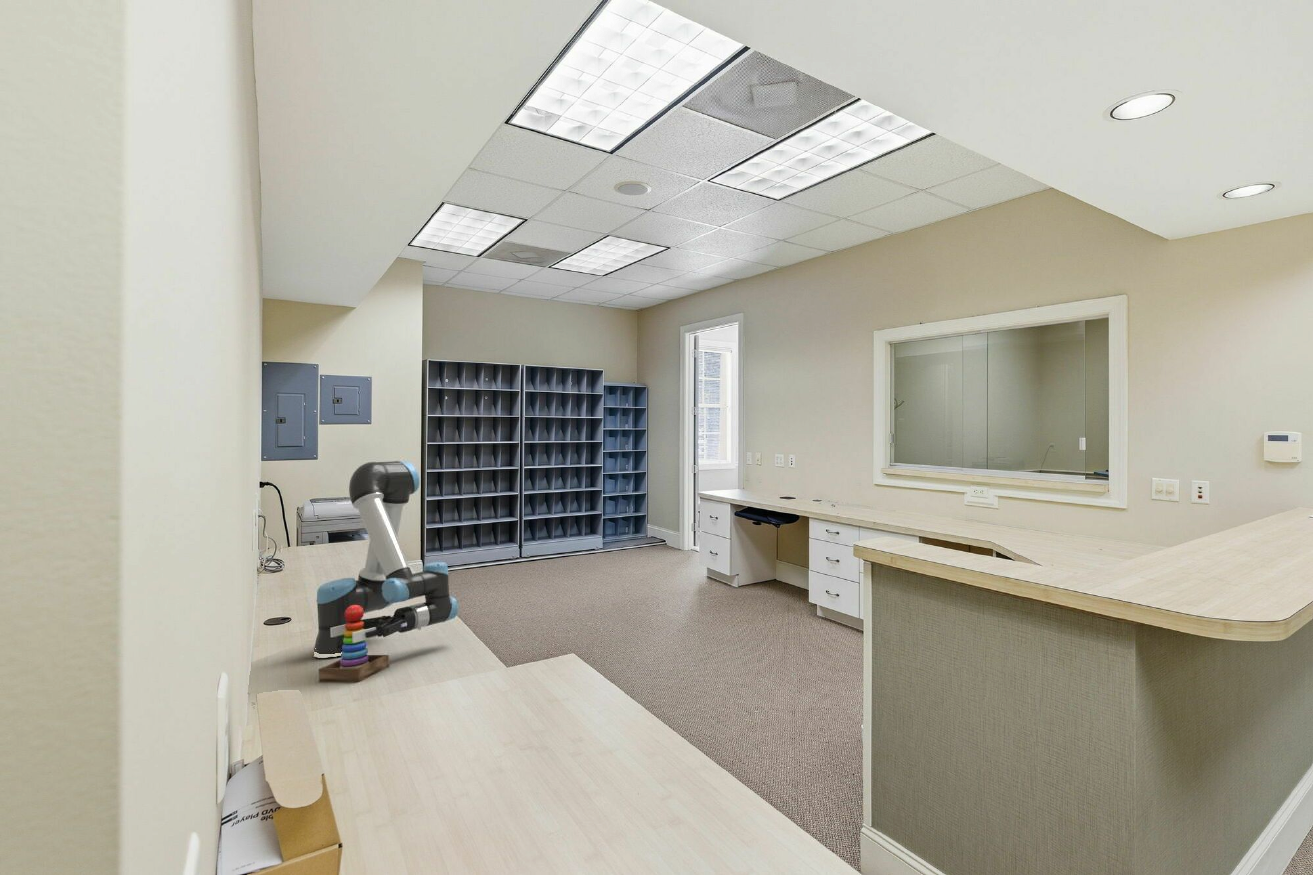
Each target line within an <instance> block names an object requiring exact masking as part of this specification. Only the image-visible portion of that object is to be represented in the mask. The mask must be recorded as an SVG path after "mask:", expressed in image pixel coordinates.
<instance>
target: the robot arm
mask: <svg viewBox="0 0 1313 875" xmlns="http://www.w3.org/2000/svg"><path fill="white" fill-rule="evenodd" d="M420 482H421V481H420V475H419V472H418V471H417V468H416V467H415V465H413V464H412V463H411V462H408V461H400V460H394V461H370V462H369V461H368V462H365V463H363V464H362V465H360V466H358V468H356V469H355V471H354V472H353V473H352V475H351V477H350V480H349V486H348V492H349V493H348V494H349V498H350V501H351V505H352V507H353V508H354V509H357V511H358V512H359V515H360V518H361V520H362V522H363V524H364V527H365V530H366V533H367V535H368V537H369V544H368V550H367V554H366V560H365V564H364V567H363V568H362V569H360V570H359V573H358V578H357V580H356V579H355V577H343V578H339V579H334V580H331V581H328V582H326V583H323V584H321V585H320V586H319V587H318V589H317V590H316V603H317V604H316V605H317V608H316V609H317V625H318V632H317V635H316V639H315V643H314V644H315V645H314V647H313V650H314V652H317V653H319V654H335V653H341V652H343V650H342V646H343V645H344V642H343V639H344V638H345V636H344V632H345V630H347V629H345V624H346V623H348V621H347V620H346V618H345V611H346V609H347V608H348V607H350V606H352V605H359V606H361V607H362V608H363V610H364V614H367V613H370V612H371V613H372V612H375V611H380V610H383V609H385V608H388V607H390V606H392V605H393V604H396V603H402V602H403V603H404V602H406V601H409V600H412V599H415V598H421V597H424V600H425V601H424V602H420V603H416V604H412V605H409V606H407V605H406V606H403V607H399V608H397V609H396V610H395V611H394V613H393V616H392V615H381V616H376V617H371V618H364V619H361V620H359V621H363V622H364V626H363V627H362V628H363V629H364V630H362V631H358V632H354V633H352V640H353V643H355V642H359V641H363V640H365V641H367V640H370V639H374V638H377V637H383V638H387V637H388V636H390V635H393V634H395V633H400V634H402V633H407V632H411V631H413V630H419V631H420V630H422V628H424V627H428V626H432V625H433V626H434V625H436V624H441V623H446V622H447V621H448V622H449V621H450V620H453V619H455V618H456V617H457V616H458V614H459V604H458V601H457V599H456V598H455V597H454V596H451V595H450V586H449V585H450V584H449V581H450V580H449V575H450V574H449V568H448V564H447V563H446V562H444V561H436V562H429V563H426V564H424V565H423V568H422V571H419V572H415V573H413V572H412V570H411V568H410V566H409V565H410V564H409V563H408V560H407V558H406V555H405V553H404V550H403V548H402V545H401V543H400V541H399V538H398V535H399V528H400V524H401V519H402V513H403V508H404V506H405V505H407V504H408V503H409V501H410V496H411V495H413V494H415V493H416V492H417V491H418V489H419V487H420ZM315 648H316V649H315ZM313 650H312V651H313Z"/></svg>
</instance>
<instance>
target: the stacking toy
mask: <svg viewBox="0 0 1313 875" xmlns="http://www.w3.org/2000/svg"><path fill="white" fill-rule="evenodd" d="M364 614H365V613H364V610H363V608H362V607H361V606H359V605H352V606H350V607H348V608H347V609H346V611H345V618H346V620H347V621H348V623H346V624H345V629H347V630H345V632H344V636H345V638H344V639H343V642H344V645H343V646H342V650H343V652H342V654H341V658H340V659H339V660H340V664H341V666H340V668H359V667H361V666H363V665H365V664H367V663H369V662H368V658H369V657H368V655H369V654H368V653H369V649H368V648H367V642H366V640H363V641H359V642H355V643H353V640H352V633H354V632H358V631H362V630H364V629H363V628H362V627H363V626H364V622H363V621H359V620H362V618H364Z"/></svg>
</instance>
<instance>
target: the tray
mask: <svg viewBox="0 0 1313 875" xmlns="http://www.w3.org/2000/svg"><path fill="white" fill-rule="evenodd" d="M367 655H368V657H369V658H368V662H369V663H367V664H365V665H363V666H361V667H359V668H340V666H341V664H340V660H341V659H339V660H336V661H334V662H332V663H330V664H327V665H325V666H322V667H320V668H318V680H319V682H322V683H323V682H324V683H325V682H330V683H333V682H334V683H335V682H337V683H338V682H339V683H360V682H361V681H363V680H365V679H368V678H369V677H371V676H373V675H375V674H377V673H379V672H381V671H383V670H385V669H388V668H389V667H390V660H389V658H390V657H389V654H367Z"/></svg>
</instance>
